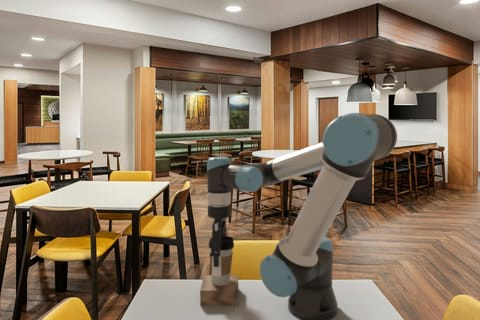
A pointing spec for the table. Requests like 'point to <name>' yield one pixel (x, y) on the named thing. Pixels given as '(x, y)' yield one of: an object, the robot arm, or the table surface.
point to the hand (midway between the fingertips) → (219, 267)
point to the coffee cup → (223, 261)
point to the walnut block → (219, 292)
